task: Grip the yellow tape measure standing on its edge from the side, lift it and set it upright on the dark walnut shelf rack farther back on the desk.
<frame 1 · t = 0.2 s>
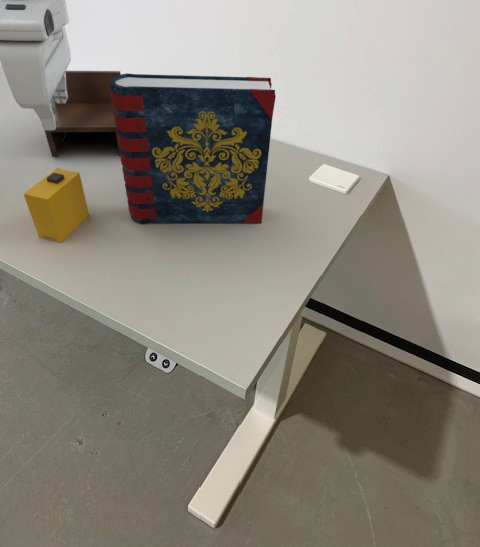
hand: (56, 114, 63), 21 cm above the table, tool pointing down, fingers open, 8 cm apart
tape measure: (65, 225, 77), on the table
book: (195, 215, 81), on the table
disk drive: (80, 113, 112), on the table
shelf: (92, 142, 100), on the table
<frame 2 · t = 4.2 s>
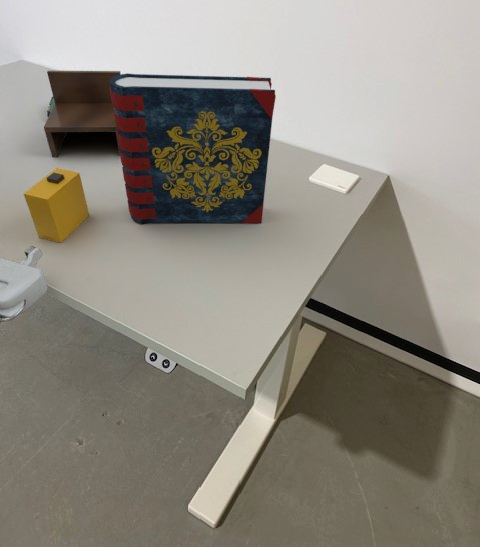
hand: (11, 243, 65), 5 cm above the table, tool horizontal, fingers open, 8 cm apart
nothing on the table moved.
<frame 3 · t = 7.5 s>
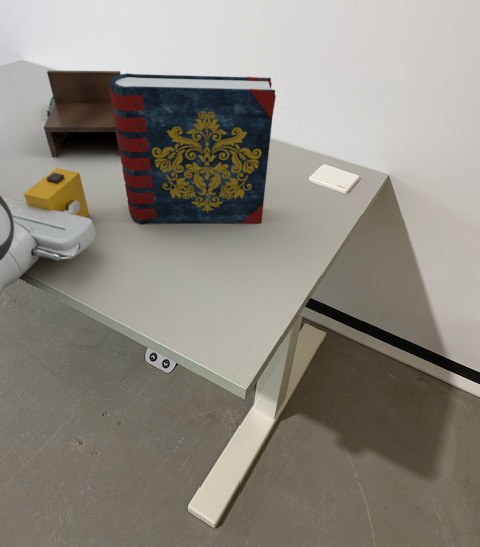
hand: (61, 199, 74), 5 cm above the table, tool horizontal, fingers closed on tape measure, 4 cm apart
tape measure: (65, 225, 77), on the table, touching gripper
everything else where it was.
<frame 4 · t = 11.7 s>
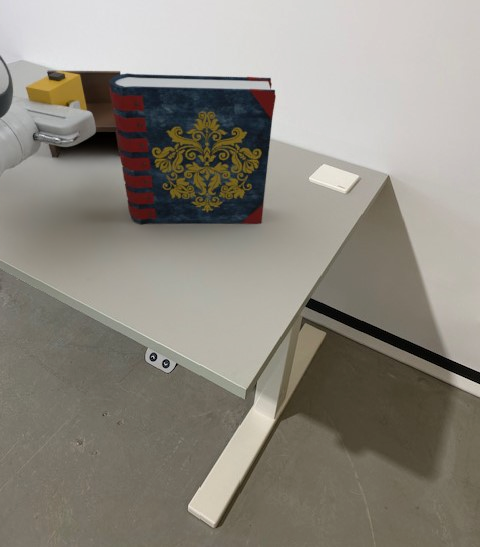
hand: (62, 101, 76), 17 cm above the table, tool horizontal, fingers closed on tape measure, 4 cm apart
tape measure: (65, 130, 79), point 12 cm above the table, touching gripper
everything else where it was.
when the fingers open (12 cm above the table, at t = 15.9 s): tape measure stays where it is, resting on shelf.
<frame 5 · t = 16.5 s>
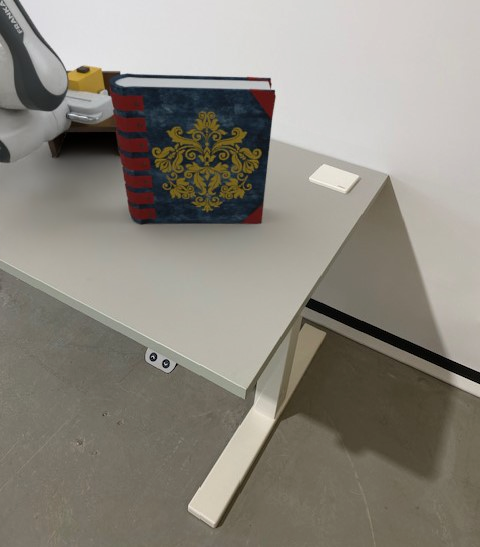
hand: (85, 89, 92), 12 cm above the table, tool horizontal, fingers open, 8 cm apart
tape measure: (89, 114, 95), point 7 cm above the table, touching shelf
everything else where it was.
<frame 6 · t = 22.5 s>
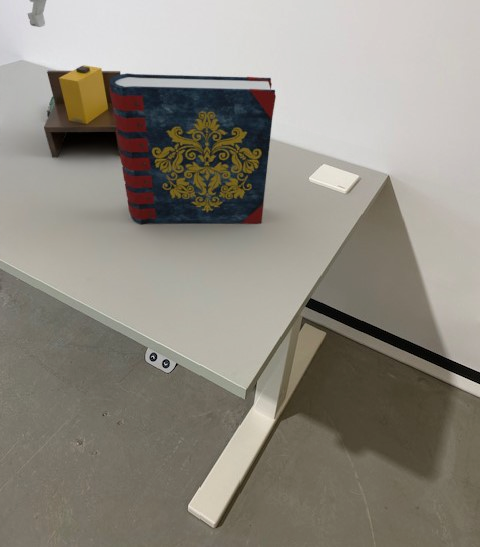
hand: (13, 21, 68), 29 cm above the table, tool pointing down, fingers open, 8 cm apart
nothing on the table moved.
at the end: tape measure inside the target area on the shelf (0.7 cm from its centre), point 7.0 cm above the shelf's base; tape measure tilted 0°; the gripper is holding nothing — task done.
